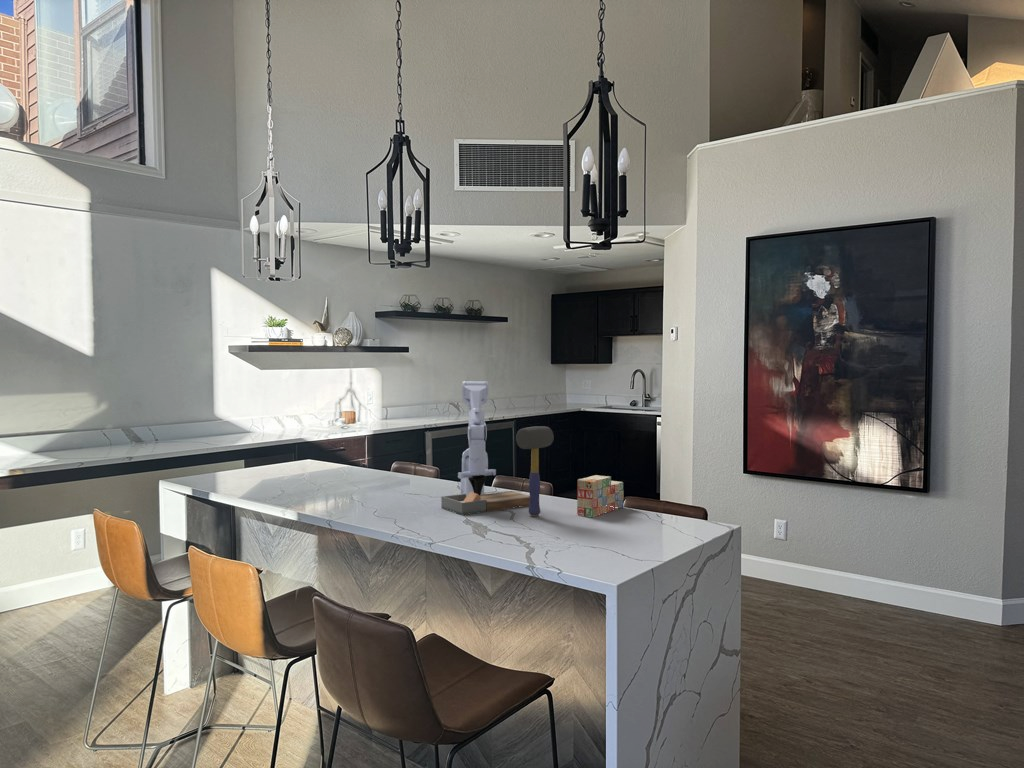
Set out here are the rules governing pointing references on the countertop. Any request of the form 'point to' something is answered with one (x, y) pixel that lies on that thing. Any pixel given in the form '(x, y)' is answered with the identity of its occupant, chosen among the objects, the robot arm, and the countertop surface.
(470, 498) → the tile back
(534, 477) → the rubber mallet
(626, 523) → the countertop surface
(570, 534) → the countertop surface
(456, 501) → the bin
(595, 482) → the stack of blocks
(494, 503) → the wooden serving tray
